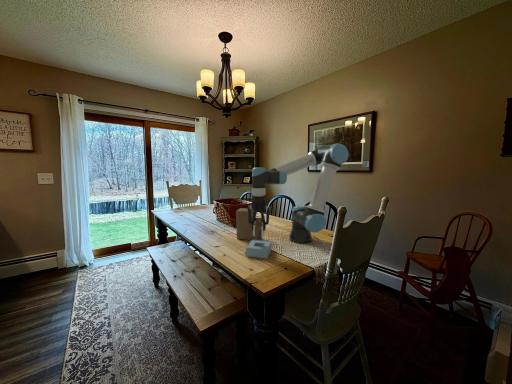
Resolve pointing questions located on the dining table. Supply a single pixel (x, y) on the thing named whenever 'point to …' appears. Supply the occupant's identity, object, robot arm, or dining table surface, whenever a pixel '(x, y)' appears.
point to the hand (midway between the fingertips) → (258, 235)
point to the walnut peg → (258, 228)
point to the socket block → (258, 249)
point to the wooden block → (243, 224)
